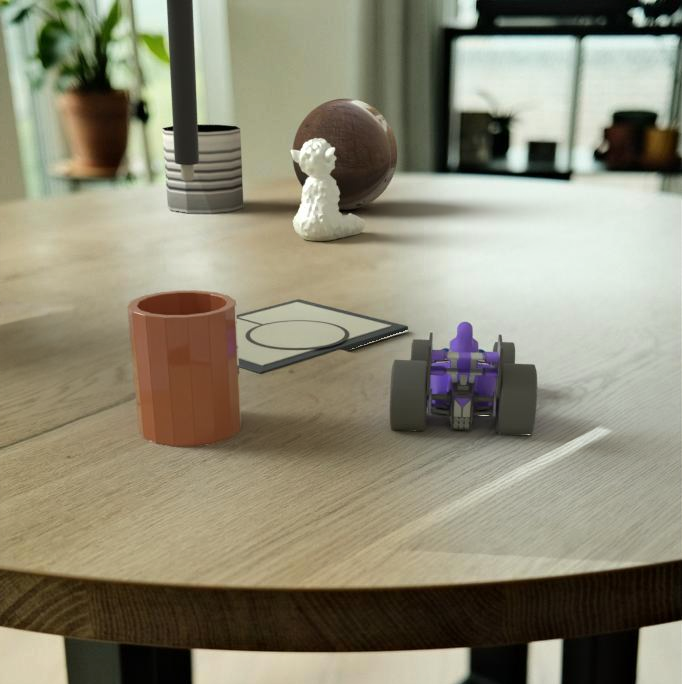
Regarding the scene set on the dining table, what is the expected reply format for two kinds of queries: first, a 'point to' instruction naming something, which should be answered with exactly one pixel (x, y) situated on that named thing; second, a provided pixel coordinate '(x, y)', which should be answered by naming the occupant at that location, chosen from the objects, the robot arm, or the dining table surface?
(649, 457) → the dining table surface
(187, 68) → the pen
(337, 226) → the white creature statuette
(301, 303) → the white flat board
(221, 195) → the can
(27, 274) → the dining table surface
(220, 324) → the cup
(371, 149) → the wooden sphere
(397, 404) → the toy race car
